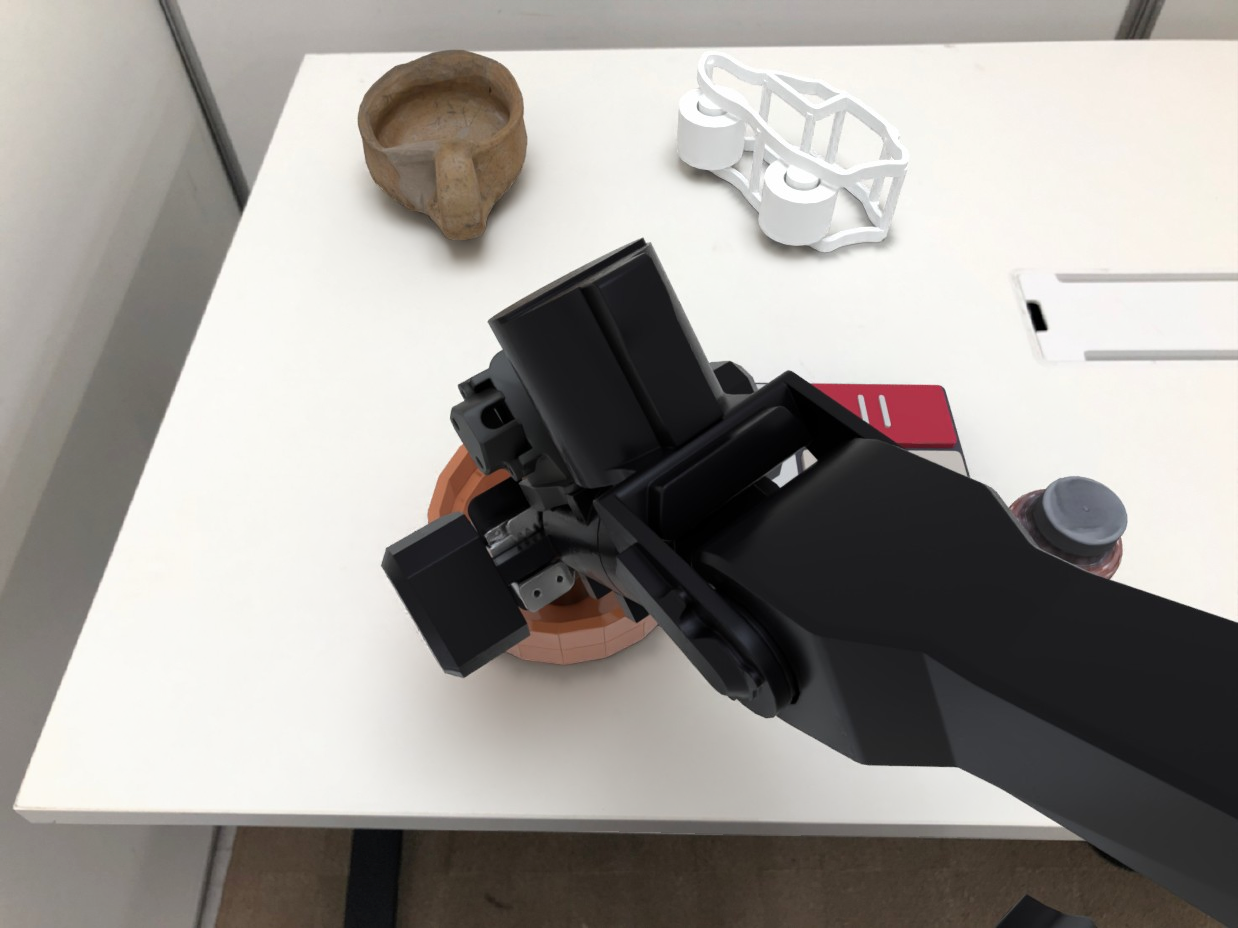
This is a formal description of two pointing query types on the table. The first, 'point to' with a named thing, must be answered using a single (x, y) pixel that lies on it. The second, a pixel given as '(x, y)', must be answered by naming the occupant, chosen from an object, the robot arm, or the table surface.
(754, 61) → the table surface
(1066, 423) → the table surface
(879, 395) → the calculator
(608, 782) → the table surface
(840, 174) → the wheeled car silhouette
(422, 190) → the tan clay cup
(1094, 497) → the supplement bottle
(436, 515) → the mixing bowl
